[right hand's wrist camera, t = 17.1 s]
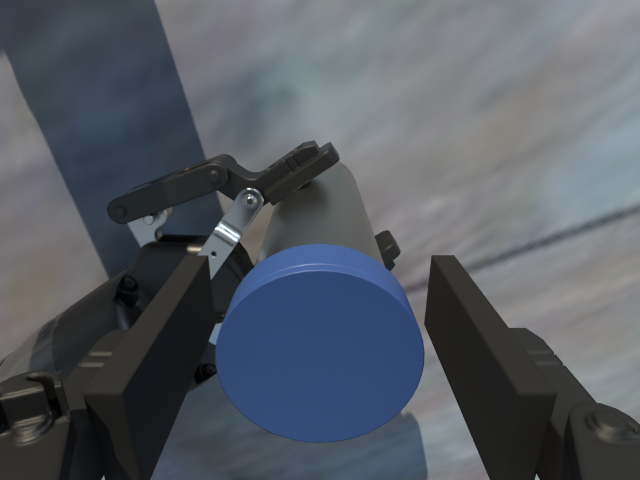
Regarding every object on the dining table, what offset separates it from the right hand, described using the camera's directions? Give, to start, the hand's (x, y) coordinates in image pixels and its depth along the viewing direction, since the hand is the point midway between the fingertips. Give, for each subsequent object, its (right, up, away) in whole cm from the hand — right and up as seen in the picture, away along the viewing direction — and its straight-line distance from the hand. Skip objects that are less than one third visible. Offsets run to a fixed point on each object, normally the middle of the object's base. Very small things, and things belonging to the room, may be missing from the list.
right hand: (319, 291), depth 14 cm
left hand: (+2, +4, +6) cm, 7 cm away
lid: (0, -1, -3) cm, 4 cm away
